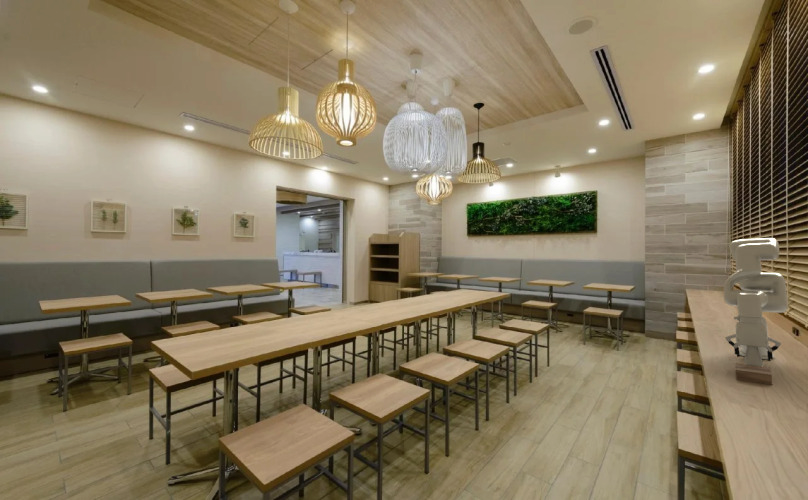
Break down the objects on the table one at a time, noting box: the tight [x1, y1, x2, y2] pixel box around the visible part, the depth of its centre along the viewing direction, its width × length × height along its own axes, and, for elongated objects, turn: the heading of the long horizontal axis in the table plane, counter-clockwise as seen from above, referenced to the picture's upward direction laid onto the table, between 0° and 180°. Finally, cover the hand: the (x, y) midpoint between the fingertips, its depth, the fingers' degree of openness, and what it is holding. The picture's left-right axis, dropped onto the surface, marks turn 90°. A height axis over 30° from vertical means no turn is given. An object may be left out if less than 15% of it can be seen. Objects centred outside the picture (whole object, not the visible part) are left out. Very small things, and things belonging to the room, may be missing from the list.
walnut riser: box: [735, 363, 773, 386], centre depth 138 cm, size 10×10×4 cm
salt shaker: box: [744, 346, 764, 367], centre depth 149 cm, size 6×6×13 cm
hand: (753, 358), depth 149 cm, fingers open, 9 cm apart
